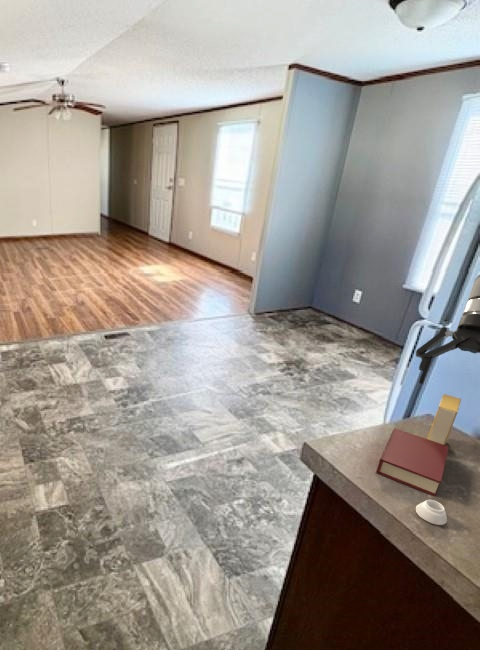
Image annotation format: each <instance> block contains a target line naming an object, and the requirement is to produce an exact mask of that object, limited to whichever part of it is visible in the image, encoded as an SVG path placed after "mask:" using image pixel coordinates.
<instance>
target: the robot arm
mask: <svg viewBox="0 0 480 650" xmlns="http://www.w3.org/2000/svg"><path fill="white" fill-rule="evenodd" d="M459 319H460V320H459V322H458V325H457V328H456V330H454V331H453V330H449V329H448V328H447V327H445V326H444V327H441V328H440V330H439V331H438V333H437V334H436V335H435V336H433V337H432V338H430V339H429V340H427V342H425V343H424V344H423V345H421V346H420V347H418V348H417V349H416V351H415V357H417V358H420V359H421V361H420V363H419V366H418V370H419V371H421V372H422V373H421V375H420V378H419V382H418V383H419V384H421V385H423V384H424V381H425V379H426V376H427V373H428V371H429V368H430V366H431V362H432V359H435V358H437V357H439V356H442V355H444V354H446V353H449V352H450V351H455V350H457V349H459V350H460V351H463V352H469V353H471V354H475V355H476V354H480V270H479V271H478V273H477V275H476V277H475V279H474V281H473V284H472V287H471V290H470V293H469V295H468V298H467V302H466V303H465V306H464V309H463V311H462V315H461V317H460V318H459ZM449 337H451V339H452V340H450V341H449V342H448V343H444V344H443V345H441V346H439V347H436V348H434V347H435V346H436V345H438V344H439V343H440V342H441V341H442V340H443V339H448V338H449ZM432 348H434V349H432ZM431 349H432V350H431ZM429 350H430V351H429Z"/></svg>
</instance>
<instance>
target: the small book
mask: <svg viewBox="0 0 480 650" xmlns="http://www.w3.org/2000/svg"><path fill="white" fill-rule="evenodd" d="M461 403H462V398H459V397H456V396H453V395H448V394H445V393H443V394H442V397H441V400H440V403H439V405H438V408H437V410H436V414H435V416H434V418H433V421H432V424H431V426H430V430H429V432H428V435H427V438H426V439H428V440H431V441H434V442H437V443H440V444H443V445H446V443H447V441H448V438H449V436H450V433H451V431H452V428H453V425H454V423H455V420H456V417H457V415H458V413H459V409H460V405H461Z"/></svg>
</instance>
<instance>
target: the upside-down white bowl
mask: <svg viewBox="0 0 480 650" xmlns="http://www.w3.org/2000/svg"><path fill="white" fill-rule="evenodd" d="M415 512H416V514H417V515H418V516H419V517H420V518H421V519H423V520H424V521H426V522H428V523H429V524H432V525H436V526H443V525H446V524H447V522H448V517H447V512H446V509H445V506H444V505H443V504H441V503H440V502H439V501H437V500H434V499H426V500H425V501H422V502H420V503H419V504H417V505H416V507H415Z"/></svg>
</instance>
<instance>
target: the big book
mask: <svg viewBox="0 0 480 650" xmlns="http://www.w3.org/2000/svg"><path fill="white" fill-rule="evenodd" d="M391 431H392V432H391V433H390V435H389V437H388V440H387V443H386V445H385V447H384V449H383V451H382V454H381V456H380V459H379V461H378V464H377V468H376V471H375V474H378V475H380V476H383V477H385V478H387V479H390V480H393V481H395V482H398V483H400V484H403V485H405V486H408V487H410V488H413V489H415V490H417V491H421V492H422V493H426V494H427V495H431V496H432V497H436V496H437V492H438V488H439V484H442V480H443V476H444V471H445V466H446V462H447V458H448V453H449V448H450V446H449V445H446V444H445V445H443V444H440V443H437V442H434V441H431V440H428V439H427V438H426V437H422V436H420V435H416V434H413V433H410V432H407V431H405V430H402V429H399V428H395V427H393V429H392V430H391Z"/></svg>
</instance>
